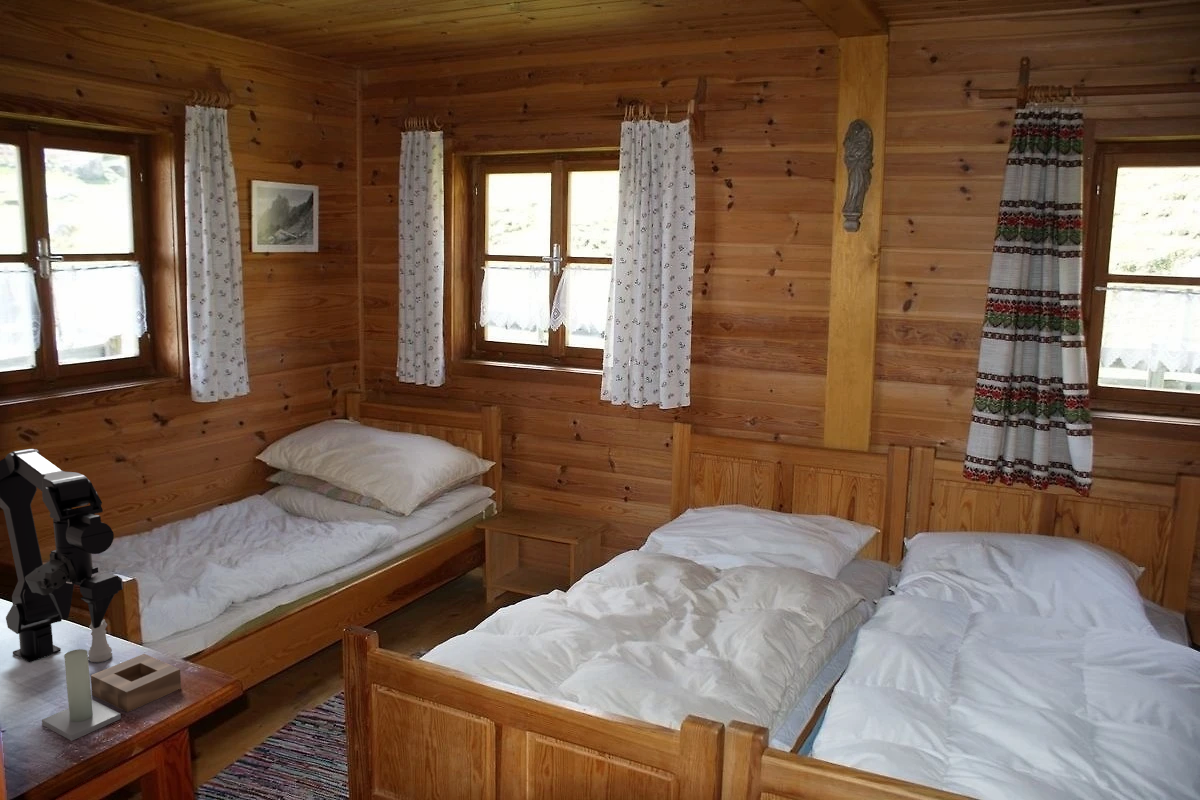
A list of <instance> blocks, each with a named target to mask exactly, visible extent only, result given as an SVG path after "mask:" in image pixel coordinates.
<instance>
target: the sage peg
mask: <svg viewBox="0 0 1200 800" xmlns="http://www.w3.org/2000/svg"><path fill="white" fill-rule="evenodd" d="M88 652H89V651H88V650H86V649H84V648H82V649H80V648H79V649H74V650H73V649H72V650H70V651H68V652H66V653H65V654H64V656H63V657H64V658H63V659H64V668H65V671H64V672H65V681H66V690H67V703H68V708H69V715H70V720H71V721H73V722H80V721H84V720H87V719H89V718H91V717H92V715H93V712H92V700H93V699H92V689H91V675H90V667H89V659H88V656H89V655H88ZM91 699H92V700H91Z"/></svg>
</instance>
